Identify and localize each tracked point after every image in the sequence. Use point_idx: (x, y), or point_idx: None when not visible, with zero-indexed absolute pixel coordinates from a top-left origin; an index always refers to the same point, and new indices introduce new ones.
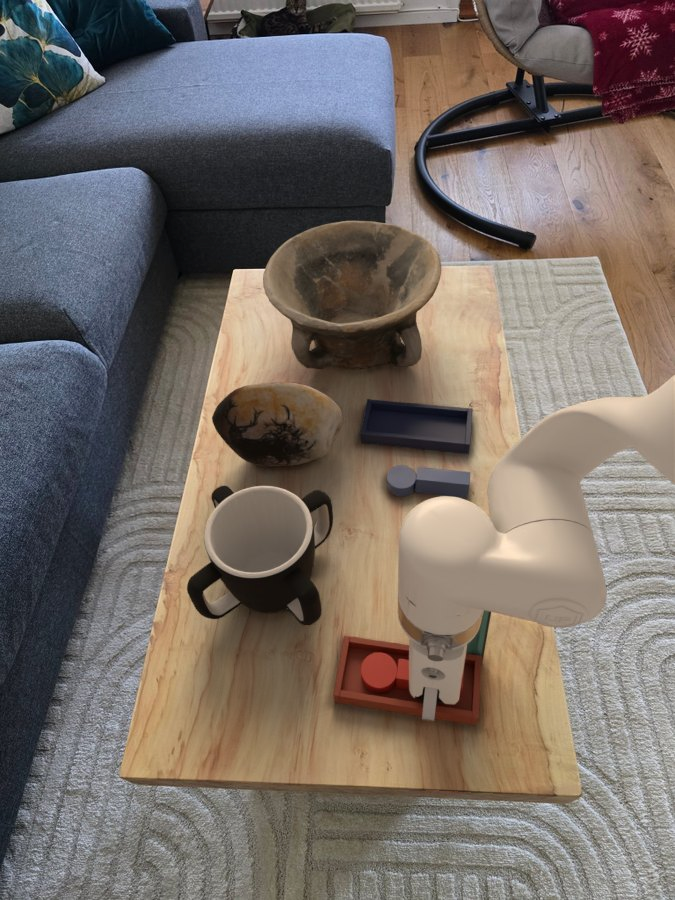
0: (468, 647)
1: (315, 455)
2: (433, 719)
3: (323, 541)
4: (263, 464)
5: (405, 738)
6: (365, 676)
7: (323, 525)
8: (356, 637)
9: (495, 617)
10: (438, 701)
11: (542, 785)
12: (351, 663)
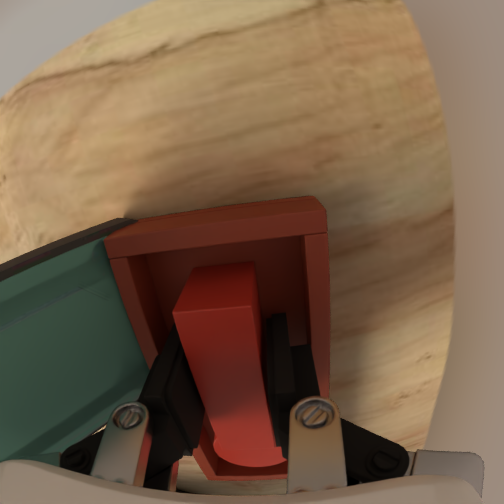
0: (97, 287)
1: None
2: (482, 471)
3: None
4: None
5: (374, 348)
6: (277, 460)
7: None
8: (202, 470)
9: (19, 209)
10: (402, 467)
11: (411, 19)
12: None
